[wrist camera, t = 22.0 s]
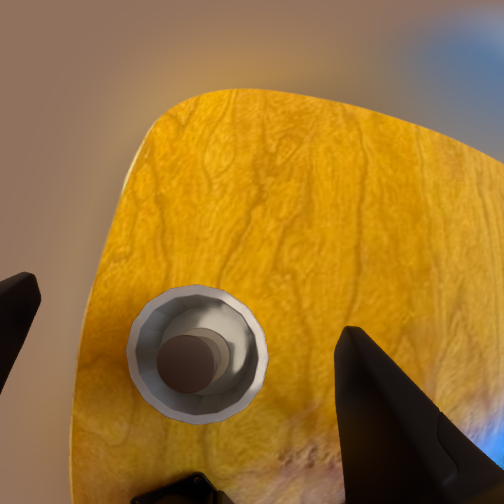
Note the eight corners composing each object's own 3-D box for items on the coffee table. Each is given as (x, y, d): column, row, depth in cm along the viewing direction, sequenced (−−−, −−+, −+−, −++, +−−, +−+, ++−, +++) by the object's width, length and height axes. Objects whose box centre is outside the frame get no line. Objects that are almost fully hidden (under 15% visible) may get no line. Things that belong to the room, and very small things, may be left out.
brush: (237, 368, 19) (243, 391, 10) (190, 383, 18) (161, 416, 10) (220, 322, 20) (212, 309, 11) (173, 338, 19) (131, 335, 11)
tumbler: (190, 417, 18) (175, 446, 12) (137, 332, 20) (103, 328, 14) (276, 367, 20) (294, 377, 14) (221, 282, 21) (218, 259, 15)
